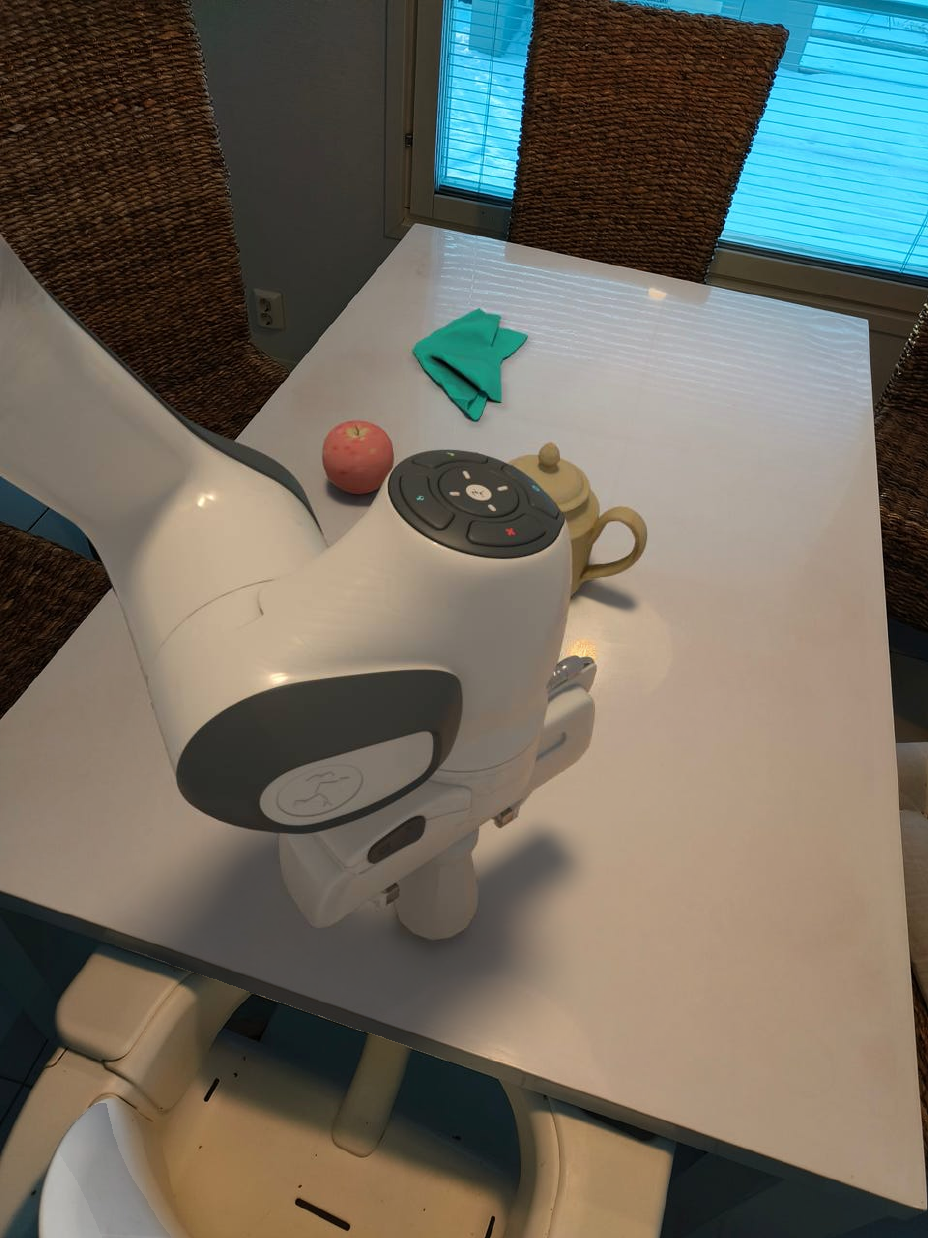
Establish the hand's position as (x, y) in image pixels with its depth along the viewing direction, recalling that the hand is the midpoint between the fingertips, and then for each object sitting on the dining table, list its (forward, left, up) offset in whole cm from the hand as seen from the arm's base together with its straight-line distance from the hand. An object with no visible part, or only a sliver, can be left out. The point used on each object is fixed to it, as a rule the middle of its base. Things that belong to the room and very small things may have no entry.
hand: (443, 853), depth 54 cm
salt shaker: (0, 0, -8) cm, 8 cm away
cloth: (+46, +58, -8) cm, 74 cm away
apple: (+21, +43, -8) cm, 48 cm away
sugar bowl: (+30, +22, -8) cm, 38 cm away
